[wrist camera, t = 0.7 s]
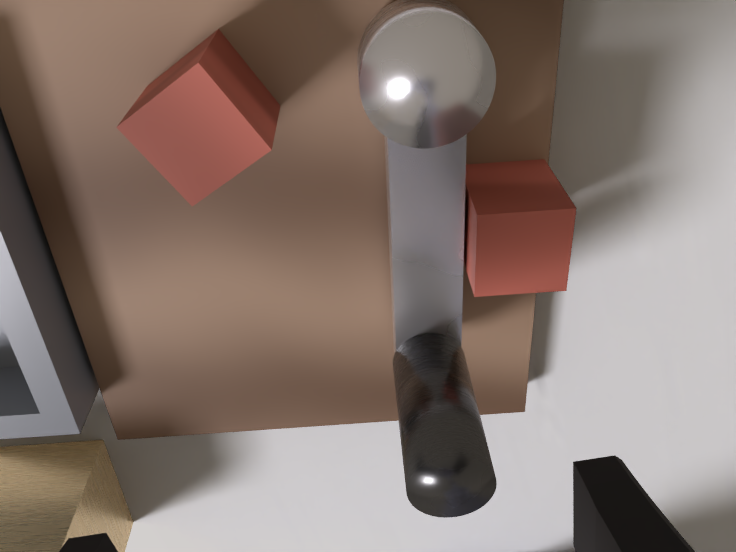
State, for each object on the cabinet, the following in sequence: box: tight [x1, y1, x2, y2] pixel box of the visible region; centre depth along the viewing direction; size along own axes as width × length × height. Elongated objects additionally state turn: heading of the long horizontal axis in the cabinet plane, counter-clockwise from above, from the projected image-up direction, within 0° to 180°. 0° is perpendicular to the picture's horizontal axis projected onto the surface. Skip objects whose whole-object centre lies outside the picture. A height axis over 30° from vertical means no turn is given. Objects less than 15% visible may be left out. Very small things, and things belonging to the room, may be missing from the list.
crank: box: [357, 0, 496, 517], centre depth 14 cm, size 9×3×5 cm, turn 3°
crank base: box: [0, 0, 576, 440], centre depth 16 cm, size 14×12×4 cm
